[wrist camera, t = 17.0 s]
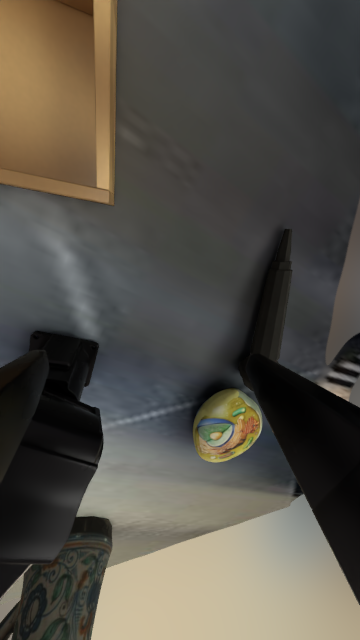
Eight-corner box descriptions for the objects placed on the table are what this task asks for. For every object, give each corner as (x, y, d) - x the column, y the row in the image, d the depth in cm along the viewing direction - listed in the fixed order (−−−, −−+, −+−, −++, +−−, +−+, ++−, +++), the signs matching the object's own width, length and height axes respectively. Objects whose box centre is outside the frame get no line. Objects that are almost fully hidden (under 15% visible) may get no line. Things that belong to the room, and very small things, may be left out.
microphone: (253, 230, 23) (234, 374, 30) (269, 226, 17) (241, 402, 25) (303, 231, 22) (271, 377, 29) (334, 227, 17) (286, 406, 24)
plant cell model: (185, 461, 33) (203, 447, 22) (187, 412, 38) (202, 380, 27) (248, 466, 34) (297, 455, 22) (241, 417, 39) (278, 388, 28)
